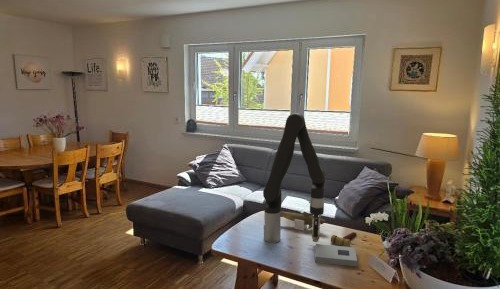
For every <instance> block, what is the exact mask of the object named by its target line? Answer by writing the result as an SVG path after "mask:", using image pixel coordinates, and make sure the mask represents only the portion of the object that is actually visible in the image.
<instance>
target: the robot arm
mask: <svg viewBox="0 0 500 289" xmlns="http://www.w3.org/2000/svg"><path fill="white" fill-rule="evenodd" d="M308 132H309V131H308V128H307V124H306V120H305V117H304V116H303V114H302V113H299V112H294V113H290V114H289V115H288V116H287V117H286V120H285V125H284V129H283V134H282V138H281V140H280V142H279V145H278V147H277V149H276V152H275V156H274V157H273V162H272V165H271V170H270V174H269V177H268V180H267V182H266V184H265V187H264V188H263V190H262V191H263V192H262V195H263V196H262V197H263V198H264V199H265V201H264V202H265V204H264V207H263V208H264V210H263V211H264V216H263V217H264V222H263V223H264V224H263V242H267V243H271V244H272V243H279V242H280V241H281V237H282V236H281V217H280V210H281V209H282V208H281V207H282V188H281V186H282V182H283V179H284V177H285V176H286V174H287V172H288V170H289V168H290V165H291V163H292V160H293V156H294V152H295V146H296V140H297V141H298V143H299V149H300V152H301V154H302V157H303V160H304V162H305V164H306V167H307V171H308V174H309V175H308V176H309V178H310V179H311V181H312V184H311V188H310V199H309V213H310V214H311V215H312V216H313V226H314V228H313V230H314V236H316V237H317V236H318V226H319V221H320V218H321V216H322V215H323V214H324V213H325V211H324V210H325V184H326V183H325V182H326V172H325V171H324V169H323V168H322V167H321V165H320V160H319V157H318V155H317V152H316V150H315V148H314V146H313V143H312V141H311V140H312V139H311V138H310V136H309V133H308ZM315 227H317V228H315Z"/></svg>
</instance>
